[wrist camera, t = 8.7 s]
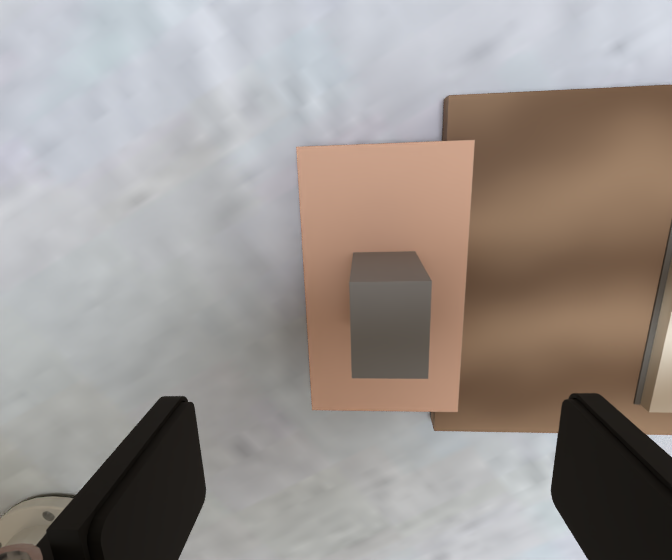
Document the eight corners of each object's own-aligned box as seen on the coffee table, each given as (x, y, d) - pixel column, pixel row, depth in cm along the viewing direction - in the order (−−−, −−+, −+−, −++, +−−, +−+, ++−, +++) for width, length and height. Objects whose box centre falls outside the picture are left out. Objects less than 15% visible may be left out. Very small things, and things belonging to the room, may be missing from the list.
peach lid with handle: (454, 403, 22) (484, 483, 17) (313, 401, 23) (297, 478, 17) (469, 140, 18) (516, 131, 13) (299, 147, 19) (271, 141, 13)
